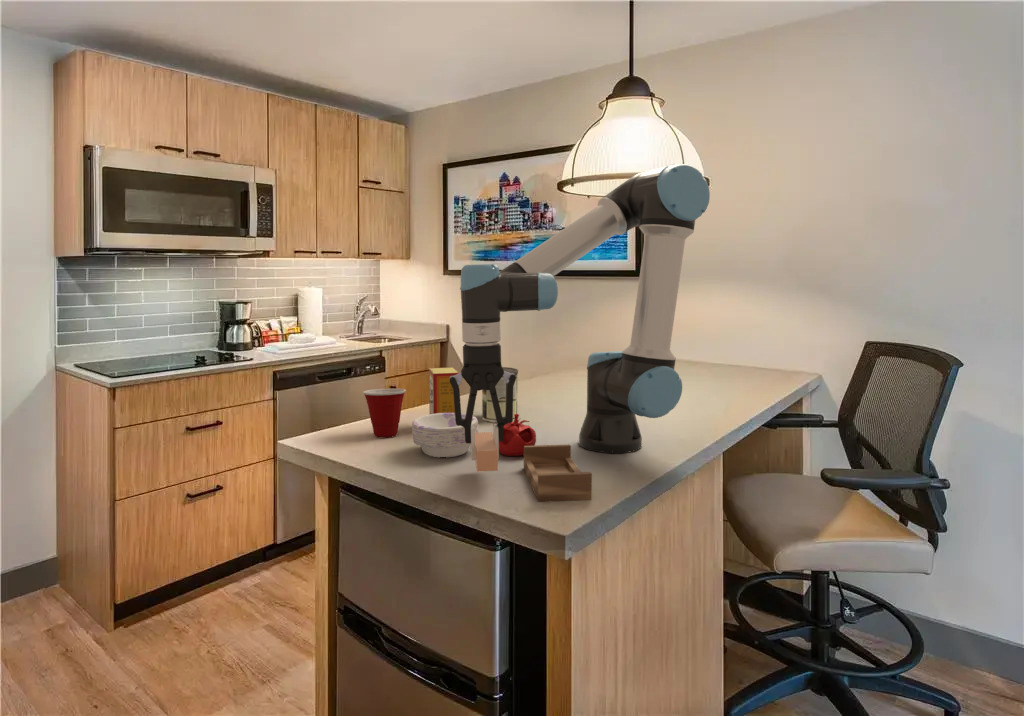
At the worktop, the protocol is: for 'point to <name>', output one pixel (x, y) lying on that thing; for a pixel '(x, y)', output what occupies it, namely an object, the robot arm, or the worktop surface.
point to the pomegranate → (516, 438)
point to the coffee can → (499, 398)
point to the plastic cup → (385, 410)
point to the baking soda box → (441, 390)
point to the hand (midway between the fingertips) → (484, 457)
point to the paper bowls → (441, 434)
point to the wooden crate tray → (555, 474)
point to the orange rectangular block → (485, 452)
